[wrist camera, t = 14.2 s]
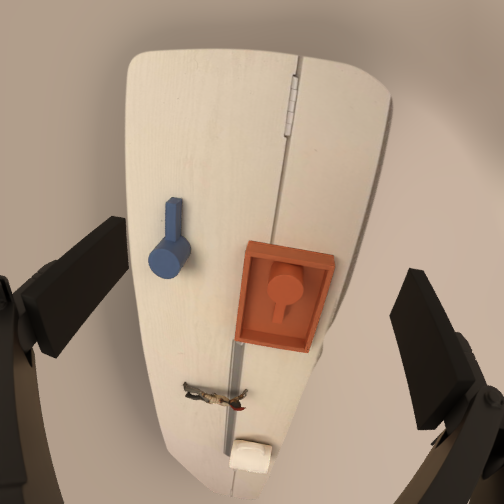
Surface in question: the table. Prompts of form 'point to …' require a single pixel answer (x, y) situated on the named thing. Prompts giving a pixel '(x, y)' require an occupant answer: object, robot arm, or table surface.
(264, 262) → the tray
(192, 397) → the figurine
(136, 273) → the table surface
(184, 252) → the blue scoop
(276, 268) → the terracotta scoop
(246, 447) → the mug
